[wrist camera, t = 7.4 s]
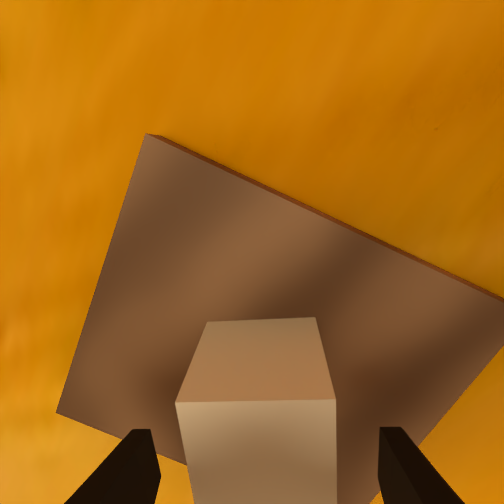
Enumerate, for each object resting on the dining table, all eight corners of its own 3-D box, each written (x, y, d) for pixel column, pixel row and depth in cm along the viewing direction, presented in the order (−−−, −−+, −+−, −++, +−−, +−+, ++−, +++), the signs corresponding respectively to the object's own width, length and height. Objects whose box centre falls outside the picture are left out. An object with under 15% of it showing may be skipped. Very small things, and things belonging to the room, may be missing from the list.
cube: (315, 317, 13) (335, 398, 8) (317, 406, 14) (337, 516, 10) (207, 321, 13) (174, 402, 9) (219, 408, 14) (196, 514, 10)
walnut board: (502, 297, 14) (529, 314, 12) (340, 499, 18) (347, 529, 16) (160, 135, 13) (145, 133, 11) (74, 390, 17) (55, 412, 15)
